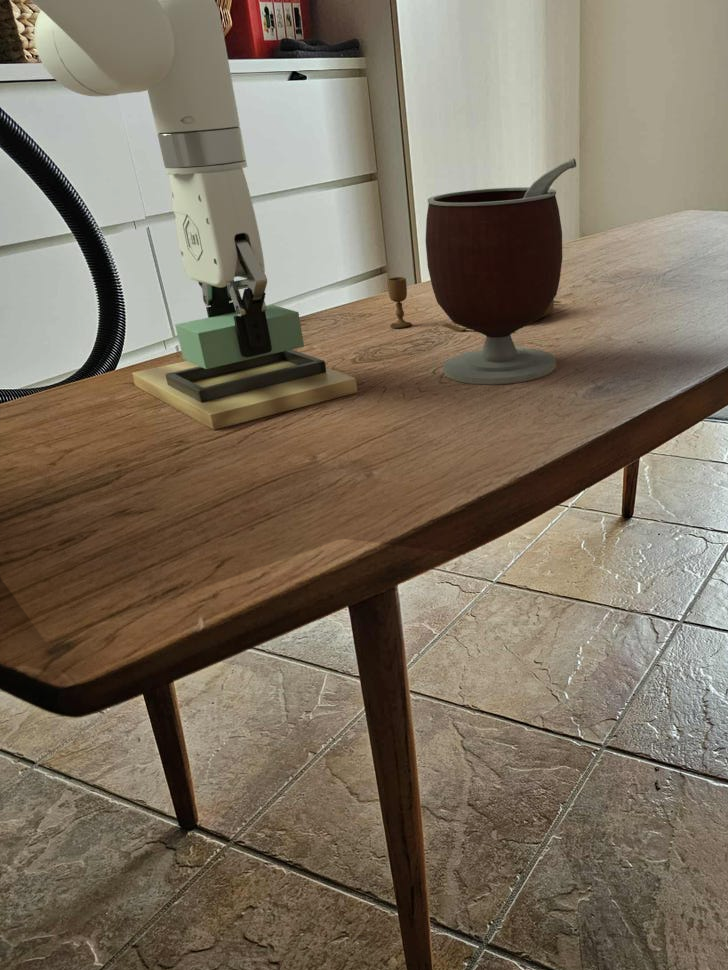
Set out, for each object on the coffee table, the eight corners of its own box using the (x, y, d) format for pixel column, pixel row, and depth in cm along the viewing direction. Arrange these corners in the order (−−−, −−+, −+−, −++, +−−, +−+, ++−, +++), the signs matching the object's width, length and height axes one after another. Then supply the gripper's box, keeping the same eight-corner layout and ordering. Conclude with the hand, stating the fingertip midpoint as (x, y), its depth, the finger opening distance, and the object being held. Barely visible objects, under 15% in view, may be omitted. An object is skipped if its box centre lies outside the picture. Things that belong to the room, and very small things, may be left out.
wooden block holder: (213, 430, 86) (207, 402, 84) (135, 386, 101) (128, 361, 99) (357, 392, 93) (354, 366, 92) (264, 356, 109) (260, 334, 107)
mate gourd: (418, 384, 95) (397, 171, 84) (460, 350, 106) (447, 158, 95) (561, 389, 90) (558, 165, 80) (590, 353, 101) (591, 152, 91)
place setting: (529, 334, 110) (527, 283, 107) (385, 329, 117) (379, 281, 114) (571, 303, 124) (570, 257, 121) (439, 300, 131) (435, 257, 128)
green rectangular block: (205, 369, 89) (197, 333, 87) (183, 359, 93) (174, 324, 91) (304, 346, 94) (298, 312, 92) (278, 337, 98) (272, 304, 97)
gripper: (133, 155, 88) (177, 343, 98) (202, 158, 76) (245, 371, 86) (205, 148, 92) (241, 329, 101) (281, 150, 80) (314, 355, 89)
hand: (242, 347), depth 93 cm, fingers closed on green rectangular block, 6 cm apart
